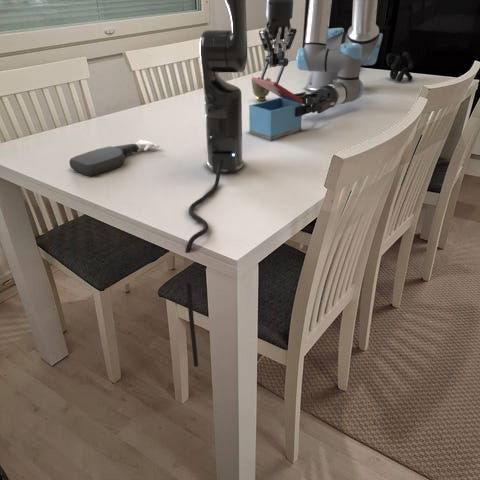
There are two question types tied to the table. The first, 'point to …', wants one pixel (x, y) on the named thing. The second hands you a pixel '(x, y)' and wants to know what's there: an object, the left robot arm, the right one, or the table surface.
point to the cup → (260, 90)
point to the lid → (274, 86)
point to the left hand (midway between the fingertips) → (276, 65)
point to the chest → (274, 118)
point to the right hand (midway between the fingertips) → (284, 108)
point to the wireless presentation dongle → (106, 157)
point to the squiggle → (399, 66)
